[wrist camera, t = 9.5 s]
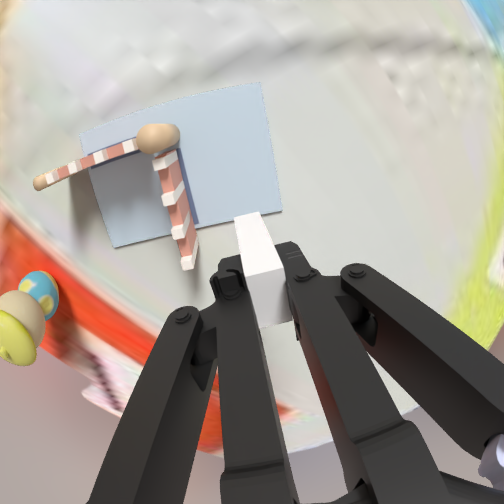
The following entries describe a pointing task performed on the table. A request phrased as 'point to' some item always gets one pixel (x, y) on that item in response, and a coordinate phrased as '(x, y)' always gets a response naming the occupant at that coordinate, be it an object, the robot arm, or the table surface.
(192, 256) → the fence wing
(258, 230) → the robot arm
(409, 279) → the table surface
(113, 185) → the card
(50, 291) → the toy
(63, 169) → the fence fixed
